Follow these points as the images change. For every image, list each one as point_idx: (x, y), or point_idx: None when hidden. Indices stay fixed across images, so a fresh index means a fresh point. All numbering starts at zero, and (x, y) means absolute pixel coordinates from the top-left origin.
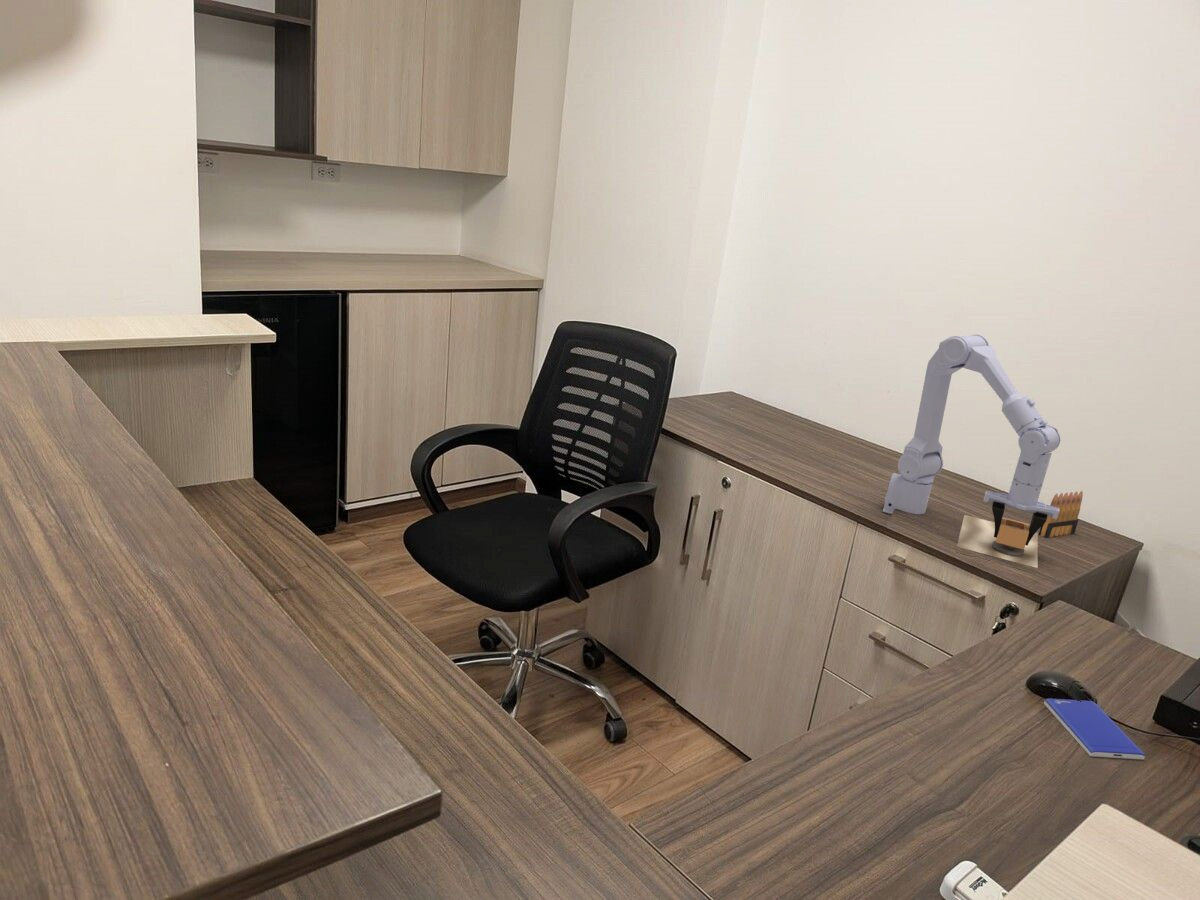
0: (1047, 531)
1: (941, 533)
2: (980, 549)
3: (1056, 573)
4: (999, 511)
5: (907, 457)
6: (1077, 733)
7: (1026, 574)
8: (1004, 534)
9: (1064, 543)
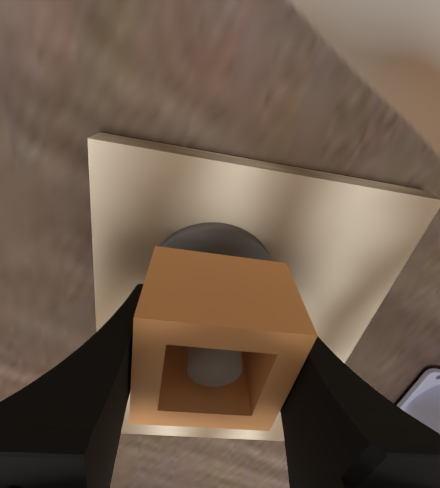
0: None
1: (396, 328)
2: (335, 222)
3: (16, 200)
4: (399, 439)
5: None
6: None
7: (140, 108)
8: (268, 293)
9: None
